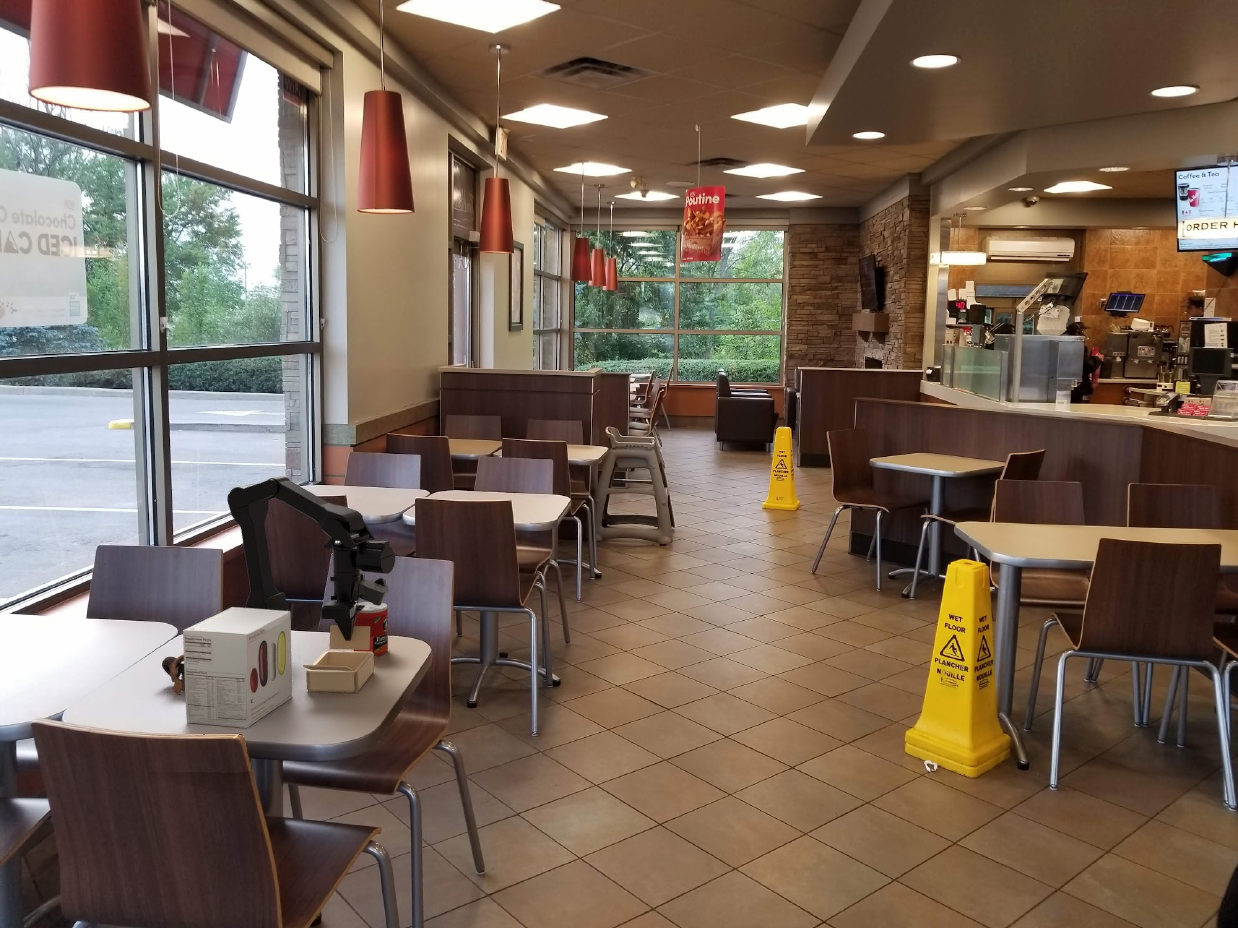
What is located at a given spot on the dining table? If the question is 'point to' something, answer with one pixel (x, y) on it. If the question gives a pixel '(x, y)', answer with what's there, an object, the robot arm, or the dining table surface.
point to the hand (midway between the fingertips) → (348, 640)
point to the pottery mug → (175, 672)
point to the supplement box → (237, 666)
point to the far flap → (357, 641)
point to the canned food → (375, 626)
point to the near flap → (327, 667)
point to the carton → (340, 672)
